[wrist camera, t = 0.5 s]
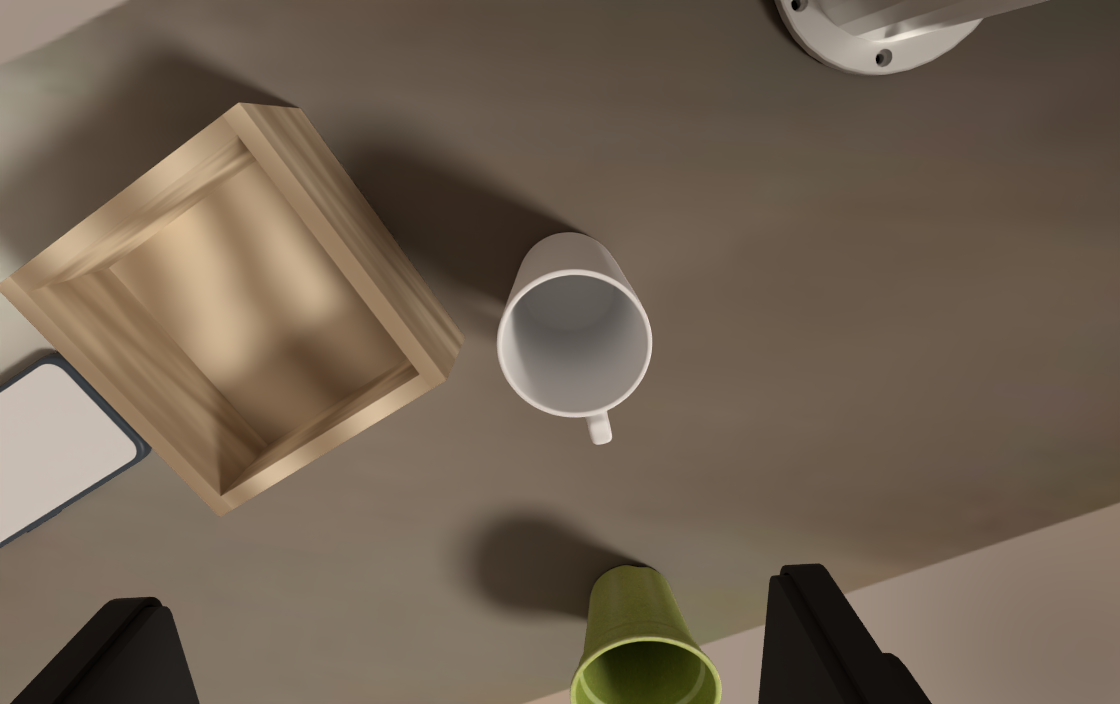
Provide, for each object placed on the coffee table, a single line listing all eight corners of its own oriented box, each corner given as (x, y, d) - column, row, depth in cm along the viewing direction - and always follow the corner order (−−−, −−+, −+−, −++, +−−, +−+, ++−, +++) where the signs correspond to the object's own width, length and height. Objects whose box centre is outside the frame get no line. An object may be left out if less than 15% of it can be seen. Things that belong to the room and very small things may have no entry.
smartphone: (70, 340, 39) (-102, 456, 41) (51, 348, 38) (-126, 468, 40) (167, 443, 42) (1, 547, 44) (153, 455, 40) (-19, 562, 43)
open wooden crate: (300, 108, 34) (238, 102, 27) (464, 337, 38) (446, 379, 32) (96, 259, 37) (-5, 286, 30) (272, 455, 41) (219, 517, 35)
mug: (500, 242, 36) (476, 292, 25) (608, 213, 36) (633, 250, 25) (544, 390, 40) (540, 492, 29) (644, 366, 39) (680, 459, 28)
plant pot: (619, 662, 48) (632, 771, 40) (542, 590, 45) (539, 690, 37) (716, 602, 46) (751, 702, 38) (640, 522, 43) (661, 611, 35)
